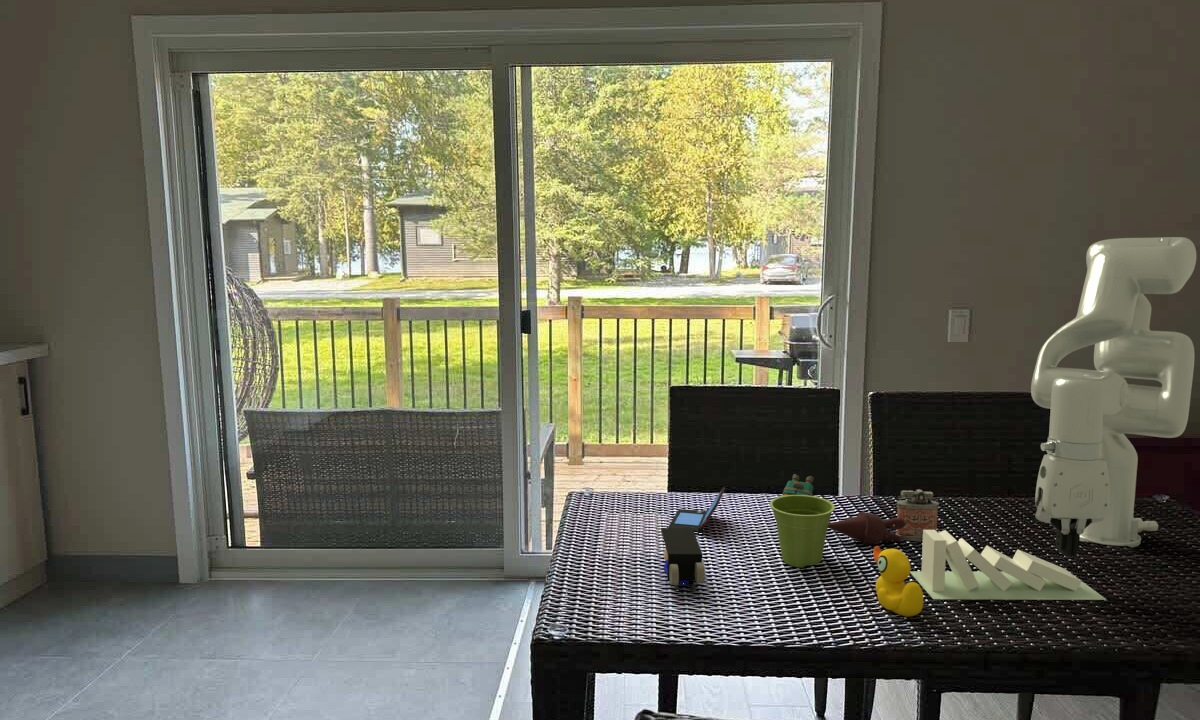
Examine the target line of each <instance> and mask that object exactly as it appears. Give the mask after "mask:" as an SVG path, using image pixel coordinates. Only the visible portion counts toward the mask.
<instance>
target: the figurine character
mask: <svg viewBox="0 0 1200 720" xmlns="http://www.w3.org/2000/svg"><path fill="white" fill-rule="evenodd" d="M660 533H661V535H662V536H661V537H662V539H663V542H664V546H665V547H664V548H665V549H664V551H663V559H664V566H663V568H662V569H663V571H664V573H665V574H666V576H667V577H666V580H667V581H669V584H670V585H671V586H674V589H676V590H679V589H680V586H679V585H681V584H683V583H684V584H686V585H688V584H689V585H690V588H691V591H692V590H693V591H695V592H696V591H697V587H696V584H705V580H706V577H705V576H706V572H705V571H706V570H705V564H704V562H703V551H702V549H701V547H700V544H699V542H698V539H697V536H696V534H695V533H694V531H693V528H668V527H661V528H660ZM679 583H681V584H679ZM695 583H696V584H695ZM678 586H679V587H678ZM676 590H675V591H676ZM693 591H692V592H693Z"/></svg>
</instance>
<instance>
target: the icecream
mask: <svg viewBox="0 0 1200 720" xmlns="http://www.w3.org/2000/svg"><path fill="white" fill-rule="evenodd" d="M904 526H905V522H904V520H903V519H900V518H897V517H892V518H890V519H887V520H885V521H884V519H882V518H881V517H880V516H879V515H877V514H876V513H871V512H869V511H868V512H865V511H864V510H862V511H861V512H859V513H857V515H856V516H853V517H849V518H845V519H843V520H838V521H833V522H829V523H828V527H827V529H828V528H829V529H830V530H833V531H835V532H838V533H840V534H843V535H844V536H847V537H849V538H851V539H854V540H856V541H857V542H861V544H862V545H863V546H865V545H871V546H873V545H876V546H877V545H878V544H880V543H881V542H901V541H902V540H901V538H900V537H899V535H896V533H894V532H893V533H892V532H889V531H888V530H892V531H897V529H901V528H903V527H904ZM887 529H888V530H887Z"/></svg>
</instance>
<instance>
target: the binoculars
mask: <svg viewBox="0 0 1200 720" xmlns="http://www.w3.org/2000/svg"><path fill="white" fill-rule="evenodd" d="M813 482H814V476H813V475H809V476H807V477H806V478H805V482H803V481H800V475H797V474H795V473H793V475H792V478H791V480H788V481H787V483H786V485H785V487H784V489H783V491H782V495H780V496H779V497H781V496H786V495H808V496H813V490H814V485H813Z"/></svg>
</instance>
